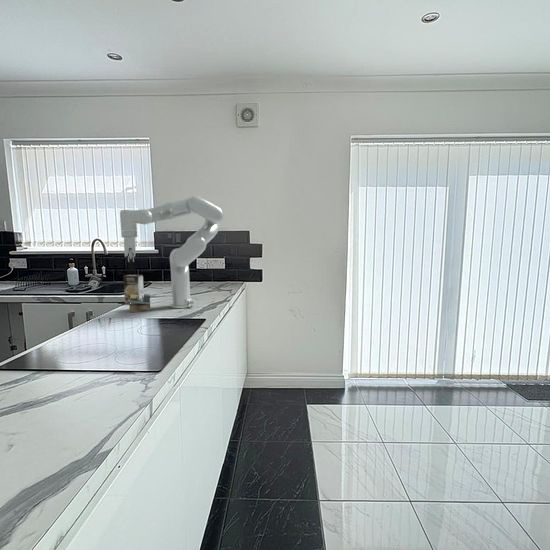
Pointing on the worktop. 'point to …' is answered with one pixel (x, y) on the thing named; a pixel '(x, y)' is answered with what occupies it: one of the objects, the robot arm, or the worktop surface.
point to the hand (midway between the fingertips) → (131, 268)
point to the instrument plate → (136, 299)
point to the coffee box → (133, 286)
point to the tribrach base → (139, 307)
